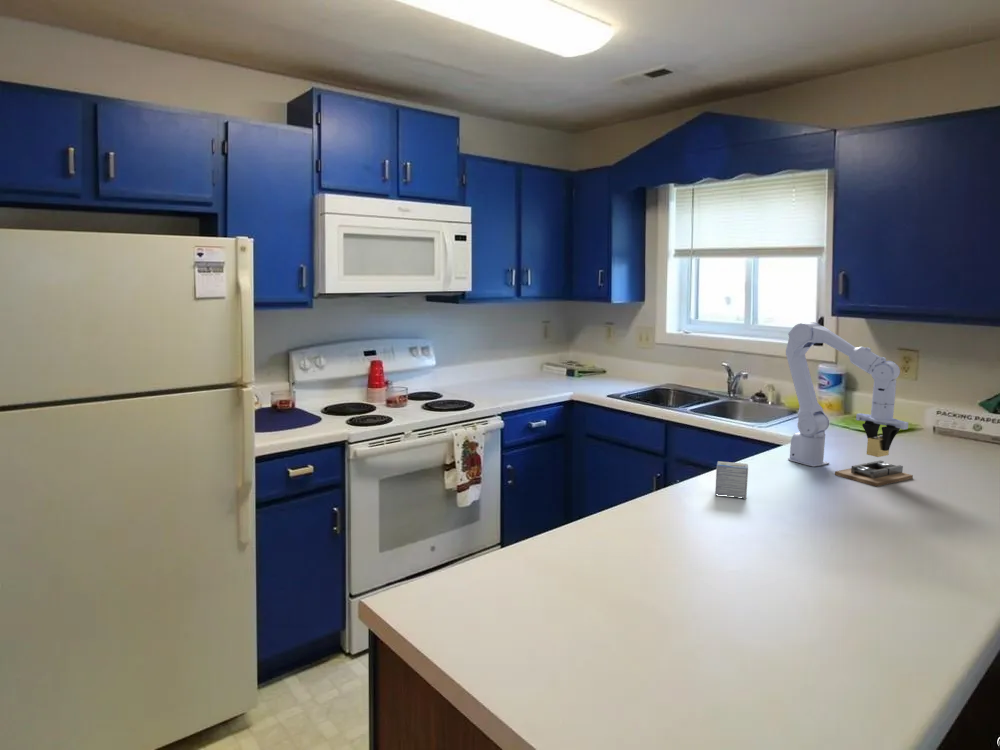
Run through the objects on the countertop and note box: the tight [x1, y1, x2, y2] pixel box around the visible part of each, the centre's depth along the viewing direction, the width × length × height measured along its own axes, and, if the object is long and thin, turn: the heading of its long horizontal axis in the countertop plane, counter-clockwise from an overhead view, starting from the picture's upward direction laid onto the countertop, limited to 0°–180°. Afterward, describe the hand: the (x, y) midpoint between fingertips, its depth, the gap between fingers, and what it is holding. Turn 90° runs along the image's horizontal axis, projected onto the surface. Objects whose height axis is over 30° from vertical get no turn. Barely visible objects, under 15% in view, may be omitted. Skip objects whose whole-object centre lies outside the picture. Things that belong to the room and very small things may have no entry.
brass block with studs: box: [866, 434, 890, 458], centre depth 200 cm, size 4×5×6 cm
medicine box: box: [714, 460, 749, 499], centre depth 181 cm, size 8×4×9 cm, turn 71°
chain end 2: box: [866, 460, 904, 475], centre depth 203 cm, size 7×7×2 cm
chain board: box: [834, 467, 914, 487], centre depth 201 cm, size 13×17×1 cm
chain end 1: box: [850, 463, 888, 479], centre depth 200 cm, size 7×7×2 cm
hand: (878, 448), depth 200 cm, fingers closed on brass block with studs, 3 cm apart
